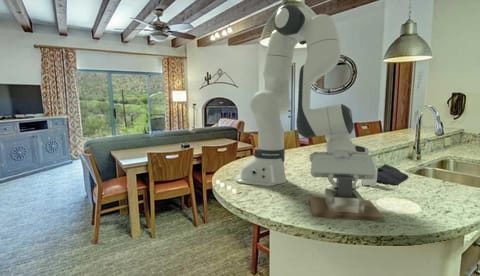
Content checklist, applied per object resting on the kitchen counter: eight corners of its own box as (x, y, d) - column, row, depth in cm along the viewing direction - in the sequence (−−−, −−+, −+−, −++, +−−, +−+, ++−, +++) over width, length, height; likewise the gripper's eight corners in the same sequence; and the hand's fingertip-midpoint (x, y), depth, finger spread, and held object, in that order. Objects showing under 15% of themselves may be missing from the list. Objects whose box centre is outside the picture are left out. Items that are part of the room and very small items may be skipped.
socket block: (312, 216, 83) (313, 199, 82) (309, 200, 97) (309, 185, 96) (383, 221, 80) (384, 204, 79) (369, 203, 93) (370, 188, 93)
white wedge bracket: (350, 175, 119) (362, 159, 116) (372, 189, 116) (385, 173, 113) (350, 177, 116) (362, 161, 113) (371, 192, 113) (385, 175, 110)
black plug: (337, 203, 86) (339, 178, 85) (335, 199, 90) (336, 175, 89) (351, 204, 86) (352, 179, 85) (348, 199, 90) (349, 176, 88)
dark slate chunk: (359, 180, 122) (359, 170, 122) (374, 171, 138) (375, 162, 138) (397, 188, 112) (398, 176, 111) (409, 177, 128) (410, 167, 127)
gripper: (309, 146, 94) (311, 182, 86) (373, 148, 91) (381, 186, 83) (308, 156, 99) (309, 191, 91) (368, 158, 96) (375, 195, 88)
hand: (344, 189), depth 87 cm, fingers closed on black plug, 4 cm apart
